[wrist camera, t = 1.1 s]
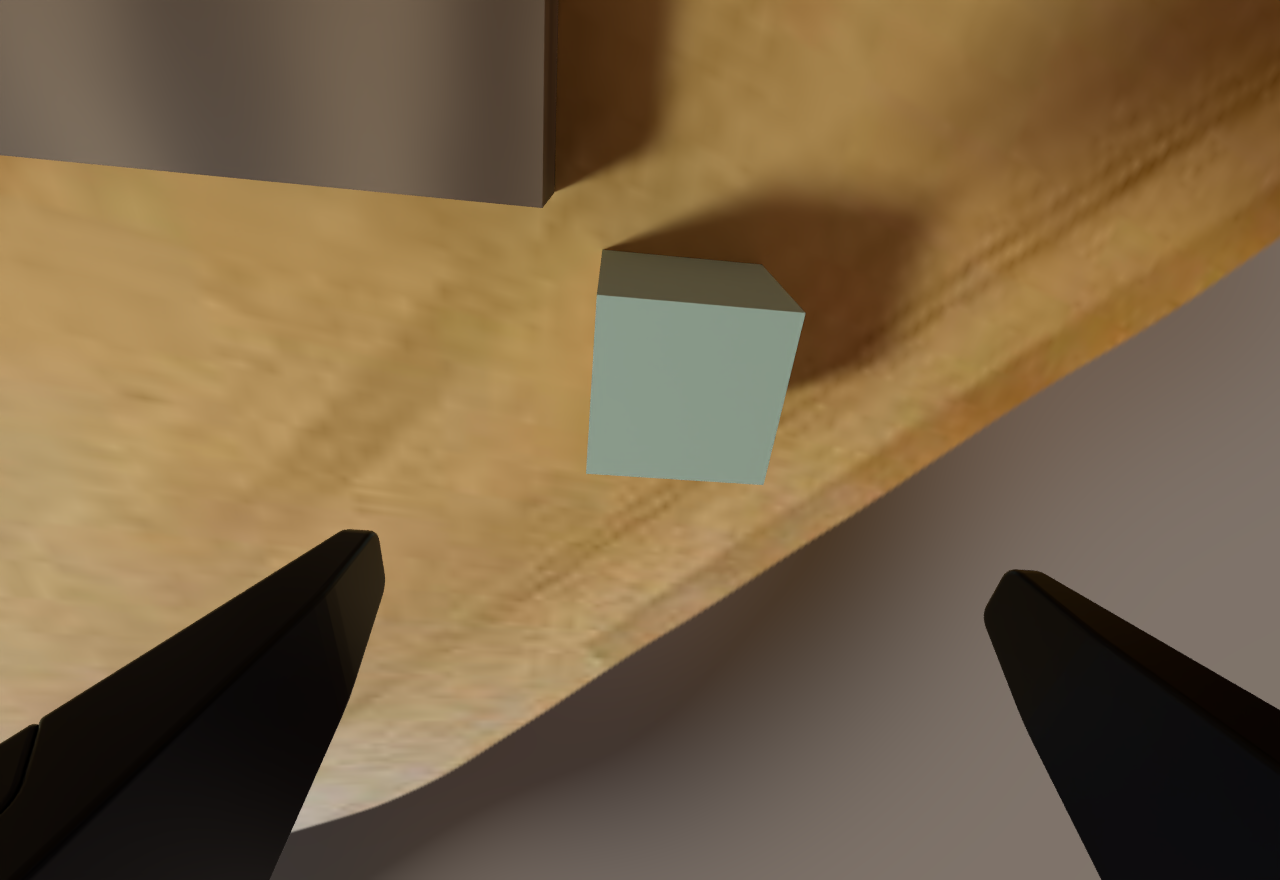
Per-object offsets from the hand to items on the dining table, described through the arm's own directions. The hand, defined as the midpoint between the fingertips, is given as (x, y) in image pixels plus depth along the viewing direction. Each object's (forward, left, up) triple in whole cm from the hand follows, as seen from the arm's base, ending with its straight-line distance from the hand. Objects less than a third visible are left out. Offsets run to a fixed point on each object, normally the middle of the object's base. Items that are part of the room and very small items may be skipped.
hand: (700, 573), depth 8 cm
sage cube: (-1, +1, -12) cm, 12 cm away
